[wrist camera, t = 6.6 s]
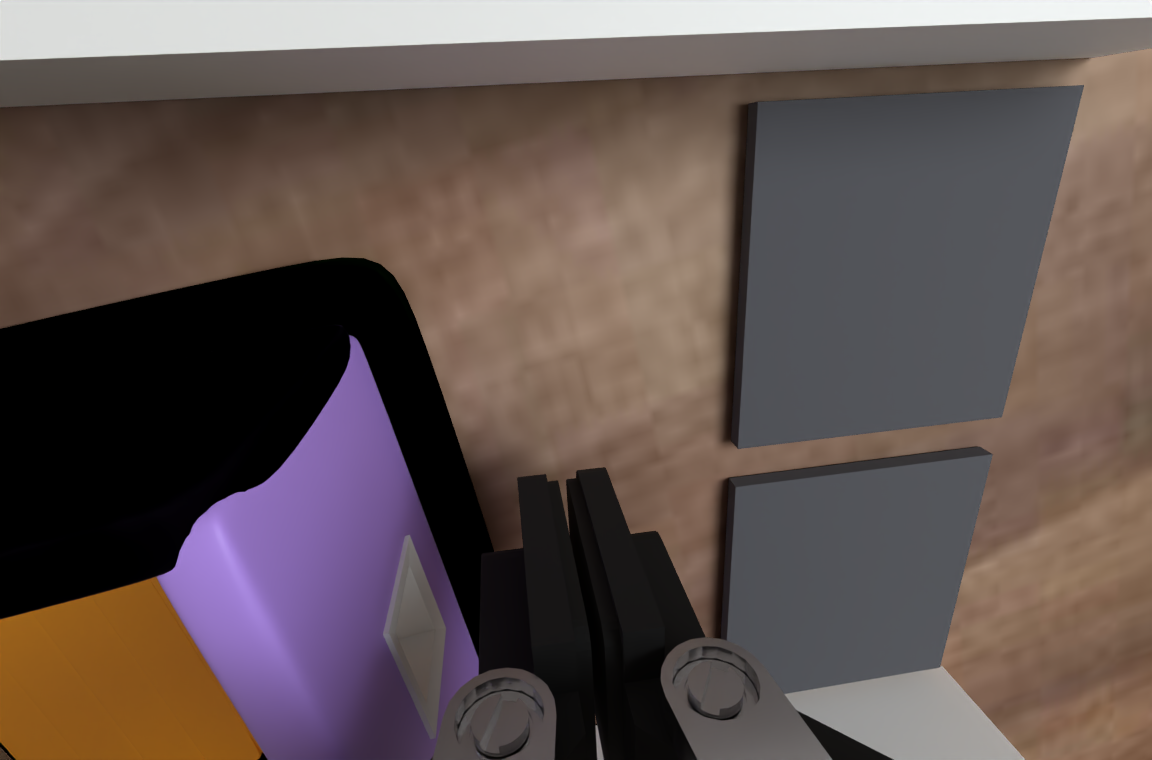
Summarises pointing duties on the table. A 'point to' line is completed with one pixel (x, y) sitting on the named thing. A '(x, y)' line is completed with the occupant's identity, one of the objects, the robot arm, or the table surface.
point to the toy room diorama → (233, 526)
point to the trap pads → (877, 360)
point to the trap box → (562, 54)
